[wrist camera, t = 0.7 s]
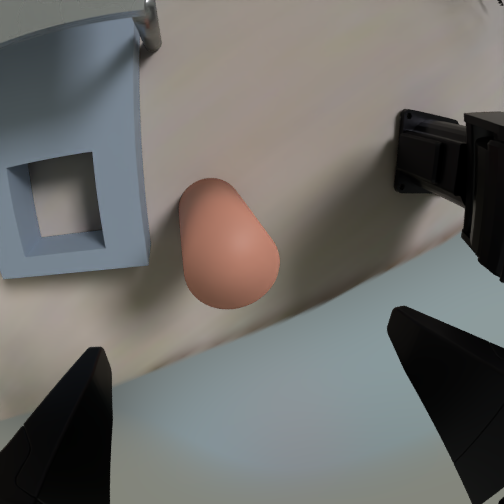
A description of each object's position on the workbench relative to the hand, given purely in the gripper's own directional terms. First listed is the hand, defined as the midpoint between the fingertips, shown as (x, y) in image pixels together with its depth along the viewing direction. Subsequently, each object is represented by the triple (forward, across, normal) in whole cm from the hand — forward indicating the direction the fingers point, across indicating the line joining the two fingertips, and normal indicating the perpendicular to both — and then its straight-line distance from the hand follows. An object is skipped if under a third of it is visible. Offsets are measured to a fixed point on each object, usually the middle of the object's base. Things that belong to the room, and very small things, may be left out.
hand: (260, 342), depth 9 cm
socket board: (+13, +9, -7) cm, 17 cm away
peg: (+13, 0, 0) cm, 13 cm away
